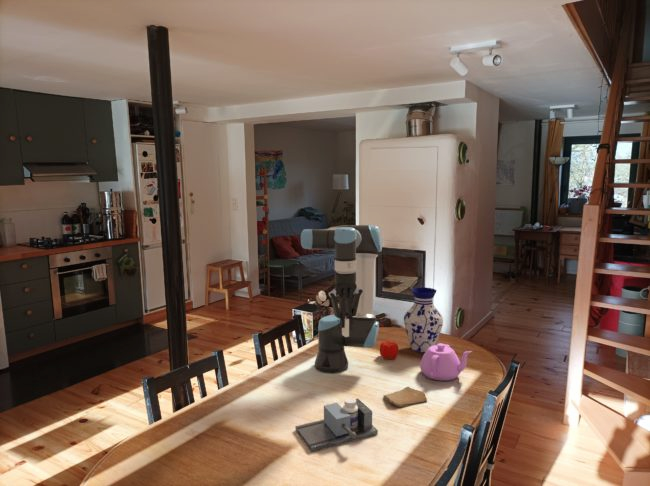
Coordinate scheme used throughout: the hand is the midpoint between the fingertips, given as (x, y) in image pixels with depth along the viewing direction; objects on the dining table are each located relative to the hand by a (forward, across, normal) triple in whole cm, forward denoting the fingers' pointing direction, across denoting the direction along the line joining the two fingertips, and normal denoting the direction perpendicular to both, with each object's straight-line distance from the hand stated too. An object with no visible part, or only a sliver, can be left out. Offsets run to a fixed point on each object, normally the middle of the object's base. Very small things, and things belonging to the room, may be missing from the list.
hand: (345, 335), depth 169 cm
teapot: (+29, +52, +8) cm, 60 cm away
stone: (+30, +24, -2) cm, 38 cm away
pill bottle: (+27, -4, -12) cm, 30 cm away
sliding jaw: (+27, -9, -16) cm, 33 cm away
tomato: (+30, +41, +36) cm, 62 cm away
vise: (+29, -10, -12) cm, 33 cm away
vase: (+30, +62, +38) cm, 79 cm away
